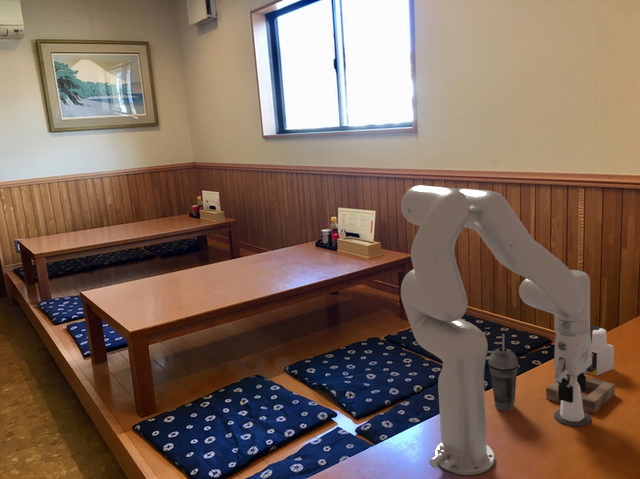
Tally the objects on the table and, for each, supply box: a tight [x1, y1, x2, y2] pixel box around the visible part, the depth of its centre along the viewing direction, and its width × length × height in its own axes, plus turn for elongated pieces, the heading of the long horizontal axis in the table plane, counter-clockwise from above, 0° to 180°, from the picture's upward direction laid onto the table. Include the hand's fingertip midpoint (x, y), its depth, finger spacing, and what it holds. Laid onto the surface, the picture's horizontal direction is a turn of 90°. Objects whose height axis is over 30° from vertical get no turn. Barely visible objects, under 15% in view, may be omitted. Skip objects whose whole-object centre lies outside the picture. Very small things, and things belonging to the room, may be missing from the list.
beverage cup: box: [487, 333, 520, 412], centre depth 137 cm, size 7×7×20 cm
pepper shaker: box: [559, 371, 585, 422], centre depth 130 cm, size 5×5×11 cm
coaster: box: [554, 408, 592, 428], centre depth 131 cm, size 8×8×1 cm
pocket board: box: [545, 375, 616, 414], centre depth 140 cm, size 12×12×3 cm
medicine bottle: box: [586, 325, 615, 376], centre depth 154 cm, size 7×7×12 cm
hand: (572, 394), depth 130 cm, fingers open, 6 cm apart
